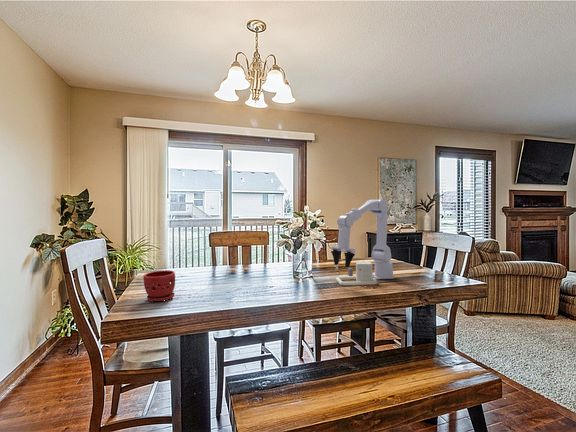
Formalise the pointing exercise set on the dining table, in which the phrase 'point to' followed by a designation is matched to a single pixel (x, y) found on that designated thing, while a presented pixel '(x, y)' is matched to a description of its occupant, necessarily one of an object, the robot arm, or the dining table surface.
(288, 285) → the dining table surface
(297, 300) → the dining table surface
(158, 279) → the plant pot
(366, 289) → the dining table surface
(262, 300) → the dining table surface
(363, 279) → the small box
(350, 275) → the pull frame
